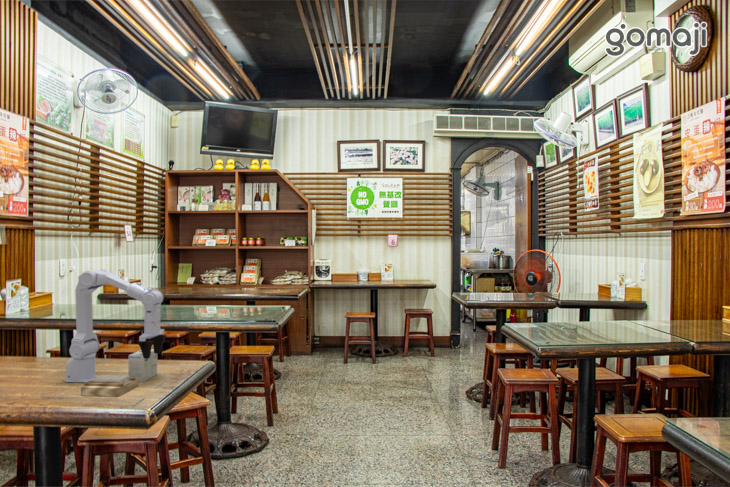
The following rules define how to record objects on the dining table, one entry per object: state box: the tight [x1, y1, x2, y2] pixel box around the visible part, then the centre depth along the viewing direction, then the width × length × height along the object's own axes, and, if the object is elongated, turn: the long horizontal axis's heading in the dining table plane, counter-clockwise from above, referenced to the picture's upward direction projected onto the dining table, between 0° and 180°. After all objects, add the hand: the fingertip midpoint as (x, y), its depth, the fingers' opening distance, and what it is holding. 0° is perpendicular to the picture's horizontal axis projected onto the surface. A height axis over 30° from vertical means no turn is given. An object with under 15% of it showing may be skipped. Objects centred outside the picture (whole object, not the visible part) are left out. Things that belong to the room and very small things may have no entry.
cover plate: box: [89, 374, 130, 384], centre depth 160 cm, size 12×5×2 cm, turn 86°
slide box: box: [80, 377, 139, 398], centre depth 160 cm, size 14×12×4 cm
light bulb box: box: [127, 348, 158, 383], centre depth 176 cm, size 11×7×11 cm, turn 178°
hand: (152, 355), depth 172 cm, fingers open, 7 cm apart
